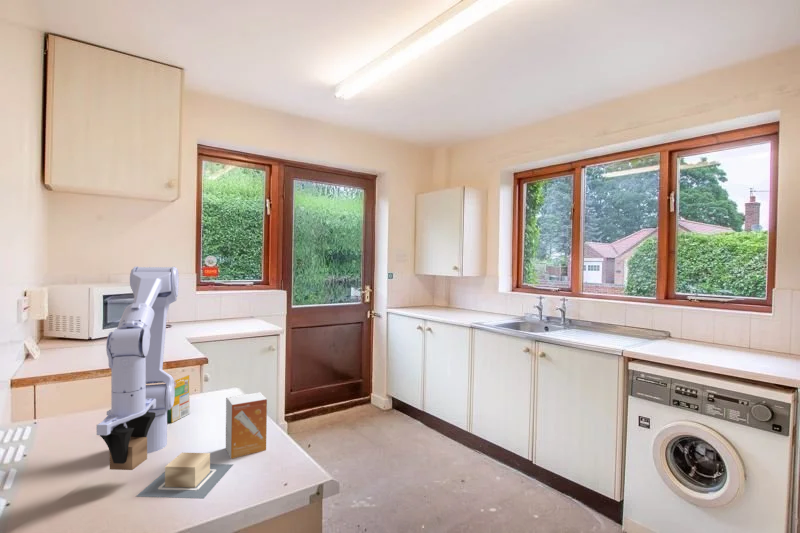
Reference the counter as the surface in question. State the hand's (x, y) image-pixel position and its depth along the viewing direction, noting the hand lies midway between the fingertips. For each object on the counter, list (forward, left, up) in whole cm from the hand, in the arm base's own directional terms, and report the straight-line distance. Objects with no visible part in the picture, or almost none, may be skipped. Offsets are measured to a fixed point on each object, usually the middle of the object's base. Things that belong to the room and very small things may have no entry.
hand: (128, 456), depth 83 cm
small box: (+17, +16, -6) cm, 24 cm away
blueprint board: (+11, +2, -6) cm, 13 cm away
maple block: (+11, +2, -5) cm, 12 cm away
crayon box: (-11, +36, -6) cm, 38 cm away
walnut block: (0, 0, -2) cm, 2 cm away
